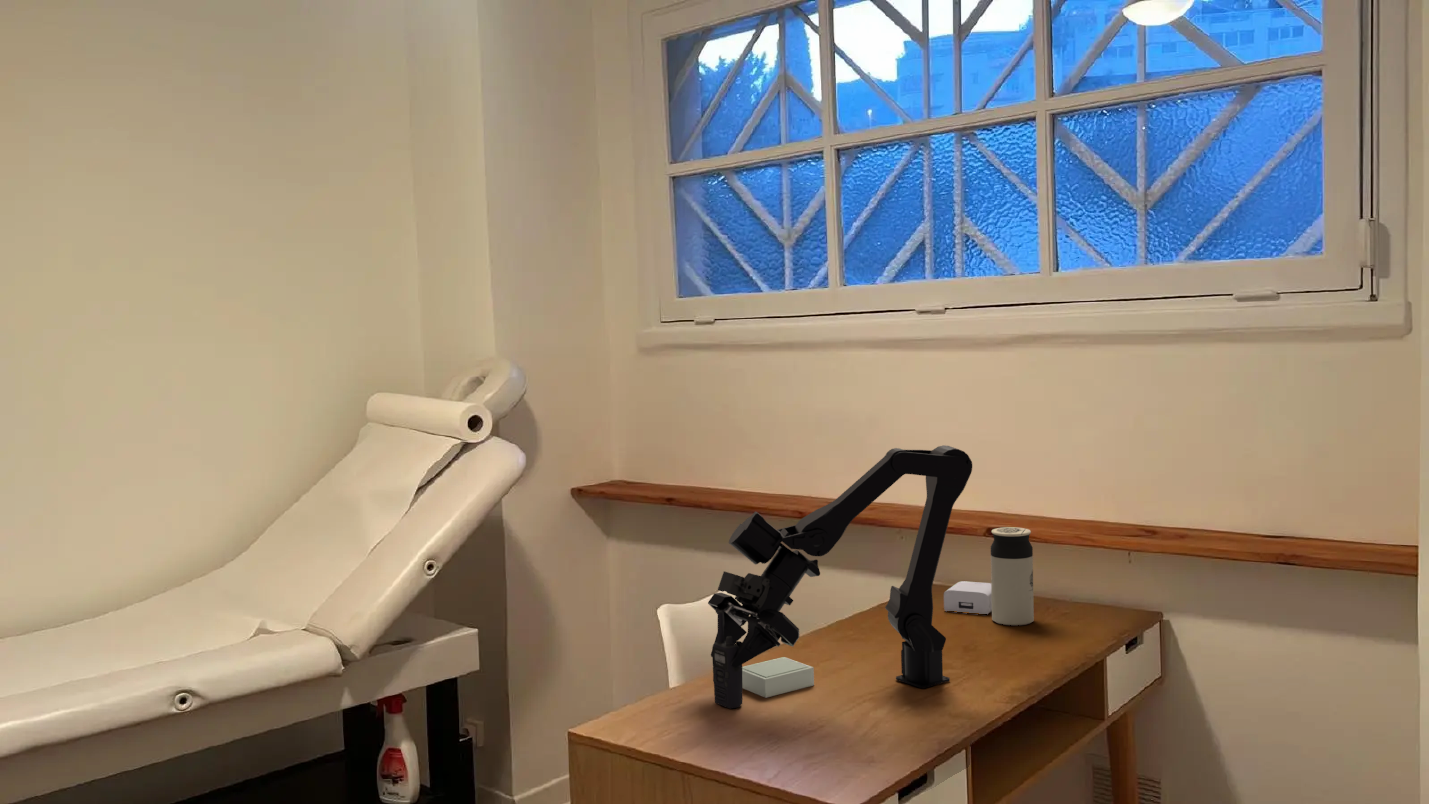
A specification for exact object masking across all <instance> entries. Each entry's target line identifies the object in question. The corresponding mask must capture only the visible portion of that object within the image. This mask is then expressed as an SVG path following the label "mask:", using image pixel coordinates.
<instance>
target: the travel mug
mask: <svg viewBox="0 0 1429 804" xmlns="http://www.w3.org/2000/svg"><path fill="white" fill-rule="evenodd" d="M991 533H992V536H993V541H992V543H991V545H990V578H991V579H990V580H991V581H990V583H991V595H992V611H991V620H992V621H993V622H994V623H996V624H999V625H1002V624H1003V625H1004V626H1010V625H1011V626H1012V627H1013V626H1014V627H1015V626H1017V627H1018V625H1019V626H1027V625H1029V624H1031V623H1032V622H1034V619H1035V617H1034V616H1035V615H1034V614H1035V611H1034V607H1035V606H1034V563H1033V562H1034V557H1033V556H1034V553H1033V551H1034V550H1033V547H1034V546H1032V544H1031V542H1030V535H1031V533H1032V531H1031V529H1029V528H1023V527H1010V526H1008V527H998V528H993V529H992V530H991ZM1011 626H1010V627H1011Z"/></svg>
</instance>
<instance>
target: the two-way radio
mask: <svg viewBox="0 0 1429 804" xmlns="http://www.w3.org/2000/svg"><path fill="white" fill-rule="evenodd" d="M717 632H718V641H717V642H715V641H714V642H715V643H713V644H712V647H711V649H712V650H711V652H712V657H711V658H712V659H711V660H712V675H713V676H712V681H713V687H714V688H713V690H714V703H716V704H717V705H720V706H722V707H723V708H728V709H729V710H731V709H735V708H739V707H741V706H742V705H743V688H742V667H743V664H742V665H740V666H738V667H737V668H734V667H733V666H732V665H731V662H732V660H733V658H734V656H735V654H736V652H737V650H738V649H739V647H740V645H741V644H742V642H743V641H740V640H738V641H737V642H735V643H733V638H732V636H727V637H726V641H724V626H723V613H722V611H718V614H717Z"/></svg>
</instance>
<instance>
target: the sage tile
mask: <svg viewBox="0 0 1429 804" xmlns="http://www.w3.org/2000/svg"><path fill="white" fill-rule="evenodd" d="M814 672H815V669H814V666H811V665H807V664H805V663H802V662H800V661H796V660H793V659H791V658H789V657H787V656H786V657H785V656H782V657H778V658H774V659H769V660H766V661H761V662H757V663H752V664H748V665H745V666H742V690H746V691H748V692H751V693H754V694H755V695H758V696H760V697H763V698H770V697H774V696H777V695H781V694H786V693H789V692H793V691H798V690H802V689H805V688H809V687H812V686H815V673H814Z"/></svg>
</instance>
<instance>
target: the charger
mask: <svg viewBox="0 0 1429 804" xmlns="http://www.w3.org/2000/svg"><path fill="white" fill-rule="evenodd" d="M943 610H944V611H945V612H947V611H957V612H969V613H979V614H987V615H988V614H989V613H992V595H991V582H978V581H977V582H975V581H966V580H965V581H964V580H963V581H962V580H961V581H958V582H956V583H955V584H954V585H952V586H950V587H949V588H948V589H947V590H945V591H944V592H943ZM957 612H956V613H957Z"/></svg>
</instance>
